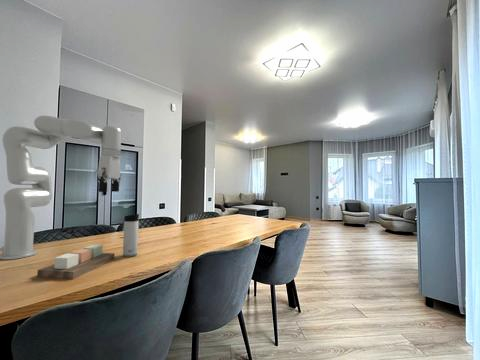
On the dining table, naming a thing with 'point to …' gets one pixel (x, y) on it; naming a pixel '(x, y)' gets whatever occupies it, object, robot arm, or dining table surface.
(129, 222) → the travel mug
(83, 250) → the terracotta key
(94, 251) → the sage key
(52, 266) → the walnut panel
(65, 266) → the cream key
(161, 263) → the dining table surface
